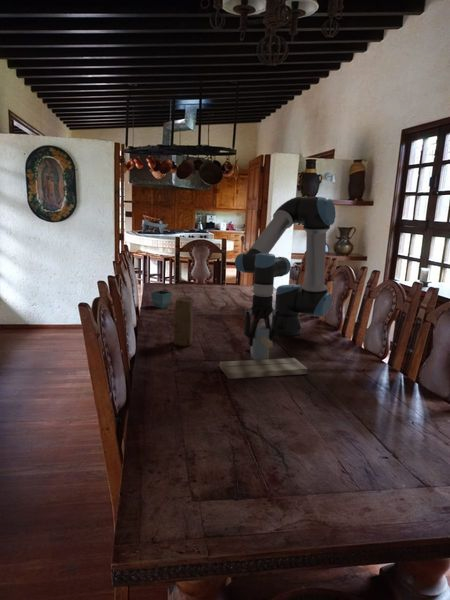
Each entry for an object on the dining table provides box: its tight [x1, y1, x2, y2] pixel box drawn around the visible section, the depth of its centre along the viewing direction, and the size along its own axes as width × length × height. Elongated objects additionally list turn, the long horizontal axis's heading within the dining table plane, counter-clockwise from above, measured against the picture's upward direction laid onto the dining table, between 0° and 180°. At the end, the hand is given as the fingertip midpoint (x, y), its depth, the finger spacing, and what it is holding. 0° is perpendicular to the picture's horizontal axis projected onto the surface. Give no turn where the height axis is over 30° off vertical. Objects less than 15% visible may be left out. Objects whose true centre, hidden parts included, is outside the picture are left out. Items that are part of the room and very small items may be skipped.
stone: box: [173, 296, 194, 347], centre depth 194 cm, size 11×8×20 cm
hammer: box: [250, 325, 274, 360], centre depth 172 cm, size 5×13×12 cm, turn 16°
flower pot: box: [150, 289, 173, 309], centre depth 263 cm, size 9×9×9 cm
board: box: [219, 357, 309, 379], centre depth 167 cm, size 30×12×2 cm, turn 105°
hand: (259, 353), depth 176 cm, fingers closed on hammer, 5 cm apart
